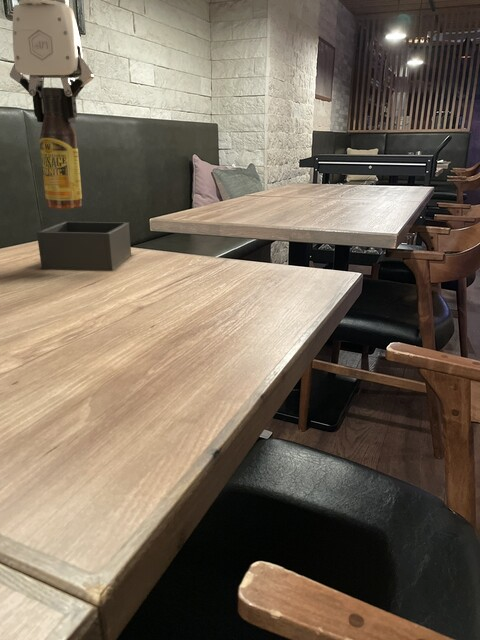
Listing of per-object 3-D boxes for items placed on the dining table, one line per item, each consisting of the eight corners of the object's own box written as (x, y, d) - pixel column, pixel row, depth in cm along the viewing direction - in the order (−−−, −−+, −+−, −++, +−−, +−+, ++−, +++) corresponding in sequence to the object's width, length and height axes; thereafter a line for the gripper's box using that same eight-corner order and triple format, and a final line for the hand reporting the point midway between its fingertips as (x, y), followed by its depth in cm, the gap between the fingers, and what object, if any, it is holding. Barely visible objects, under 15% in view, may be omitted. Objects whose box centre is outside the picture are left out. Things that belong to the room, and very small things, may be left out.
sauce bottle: (39, 209, 88) (21, 87, 81) (62, 205, 93) (46, 90, 86) (70, 211, 86) (54, 85, 79) (91, 206, 91) (78, 88, 84)
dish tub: (41, 270, 99) (36, 232, 97) (68, 255, 112) (64, 221, 109) (112, 272, 98) (109, 233, 96) (131, 257, 111) (128, 222, 108)
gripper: (-21, -8, 75) (-2, 121, 82) (85, -9, 74) (96, 122, 80) (5, 4, 82) (20, 122, 89) (103, 4, 81) (111, 123, 87)
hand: (56, 121), depth 84 cm, fingers closed on sauce bottle, 4 cm apart
